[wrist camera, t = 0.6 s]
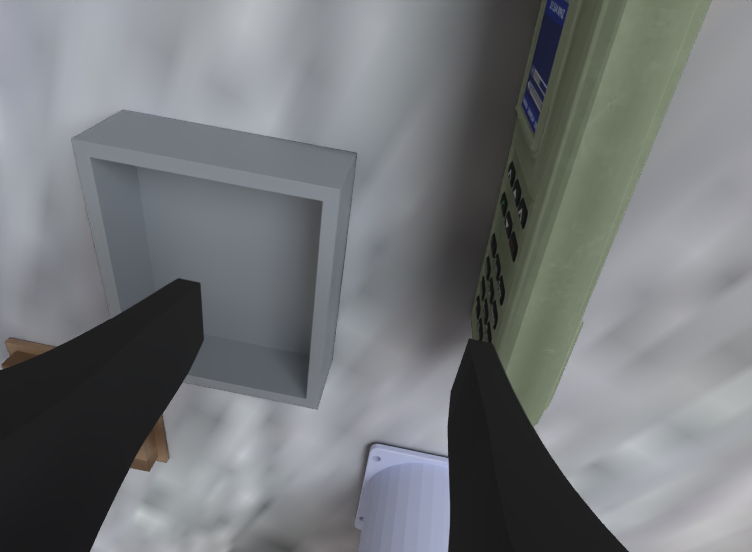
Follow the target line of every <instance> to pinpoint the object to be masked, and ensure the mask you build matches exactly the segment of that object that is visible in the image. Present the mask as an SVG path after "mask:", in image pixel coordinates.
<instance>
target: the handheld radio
mask: <svg viewBox="0 0 752 552" xmlns="http://www.w3.org/2000/svg"><path fill="white" fill-rule="evenodd" d="M711 1H712V0H542V1H541V6H540V10H539V14H538V18H537V22H536V27H535V31H534V35H533V39H532V43H531V48H530V52H529V56H528V60H527V64H526V69H525V73H524V77H523V81H522V85H521V89H520V94H519V98H518V102H517V105H516V107H515V110H516V112H517V115H518V116H517V120H516V124H515V128H514V132H513V136H512V142H511V146H510V151H509V155H508V159H507V163H506V167H505V172H504V176H503V180H502V184H501V189H500V193H499V197H498V201H497V206H496V210H495V214H494V218H493V222H492V227H491V231H490V235H489V239H488V244H487V248H486V252H485V256H484V261H483V265H482V269H481V273H480V278H479V282H478V286H477V290H476V294H475V299H474V303H473V307H472V311H471V325H472V338H473V339H474V340H479V341H484V342H489V343H493V345H494V347H495V348H496V351H497V353H498V356H499V358H500V361H501V363H502V365H503V368H504V370H505V372H506V375H507V377H508V379H509V381H510V383H511V385H512V388H513V390H514V392H515V394H516V396H517V398H518V400H519V402H520V404H521V405H522V407H523V409H524V411H525V413H526V415H527V417H528V419H529V421H530V422H531V424H532V426H535V425H536V424H537V423H538V421H539V420H540V418H541V416H542V414H543V412H544V410H545V409H547V408H548V406H549V404H550V402H551V400H552V398H553V396H554V393H555V391H556V388H557V386H558V384H559V381H560V379H561V376H562V374H563V372H564V369H565V367H566V364H567V362H568V360H569V357H570V355H571V352H572V350H573V348H574V345H575V343H576V340H577V338H578V335H579V333H580V331H581V328H582V326H583V320H582V317H583V314H584V312H585V309H586V307H587V304H588V302H589V299H590V297H591V295H592V292H593V290H594V287H595V285H596V282H597V280H598V277H599V275H600V273H601V270H602V268H603V265H604V263H605V260H606V258H607V255H608V253H609V251H610V248H611V246H612V243H613V241H614V238H615V236H616V233H617V231H618V229H619V226H620V224H621V221H622V219H623V216H624V214H625V211H626V209H627V206H628V204H629V202H630V199H631V197H632V194H633V192H634V189H635V187H636V184H637V182H638V180H639V177H640V175H641V172H642V170H643V167H644V165H645V162H646V160H647V158H648V155H649V153H650V150H651V148H652V145H653V143H654V140H655V138H656V136H657V133H658V131H659V128H660V126H661V123H662V121H663V118H664V116H665V114H666V111H667V109H668V106H669V104H670V101H671V99H672V96H673V94H674V92H675V89H676V87H677V84H678V82H679V79H680V77H681V74H682V72H683V70H684V67H685V65H686V62H687V60H688V57H689V55H690V52H691V50H692V48H693V45H694V43H695V40H696V38H697V35H698V33H699V30H700V28H701V26H702V23H703V21H704V18H705V16H706V13H707V11H708V8H709V6H710V4H711Z"/></svg>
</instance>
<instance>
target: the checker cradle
mask: <svg viewBox="0 0 752 552" xmlns="http://www.w3.org/2000/svg"><path fill="white" fill-rule="evenodd" d="M5 344H6V347H7V349H8V352H9V354H10V357H9V358H8V359H7V360H6V361H5V362H4V363H3V364H2V367H3V369H5V368H8V367H10V366H13V365H16V364H18V363H21V362H24V361H26V360H28V359H31V358H33V357H35V356H38V355H40V354H42V353H44V352H47V351H49V350H51V349H54V348H56V347H53V346H48V345H43V344H38V343H33V342H28V341H24V340H19V339H14V338H9V339H8V340H6V341H5ZM168 459H169V453H168V447H167V441H166V435H165V428H164V422H163V416H162V415H161V417H160V418H159V420H158V421H157V423H156V424H155V426H154V427H153V429H152V431H151V432H150V434H149V435H148V437H147V438H146V440H145V441H144V443H143V445H142V447H141V448H140V450H139V452H138V453H137V455H136V457H135V459H134V461H133V463H132V465H131V467H130V468H134V469H138V470H143V471H148V472H149V471H150V470H151V468H152V466H153V464H154V463H155V461H160V462H165V463H167V461H168Z"/></svg>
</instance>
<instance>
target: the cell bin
mask: <svg viewBox="0 0 752 552" xmlns="http://www.w3.org/2000/svg"><path fill="white" fill-rule="evenodd" d="M71 141H72V145H73V150H74V155H75V159H76V164H77V168H78V173H79V177H80V182H81V187H82V191H83V196H84V200H85V205H86V209H87V214H88V219H89V223H90V228H91V232H92V237H93V241H94V246H95V251H96V255H97V260H98V264H99V269H100V274H101V278H102V283H103V287H104V292H105V296H106V301H107V306H108V310H109V315H110V319H111V318H113V317H115V316H116V315H118V314H120V313H121V312H123V311H125V310H126V309H128V308H130V307H131V306H133V305H135V304H137V303H138V302H140V301H141V300H143V299H145V298H146V297H148V296H150V295H151V294H153V293H154V292H156V291H158V290H159V289H161V288H162V287H164V286H166V285H167V284H169V283H171V282H172V281H174V280H176V279H178V278H181V279H185V280H190V281H195V282H200V283H201V298H202V314H203V331H204V341H203V343H202V345H201V348H200V350H199V352H198V354H197V357H196V359H195V361H194V363H193V365H192V367H191V369H190V371H189V373H188V374H187V376H186V378H185V379H184V381H183V382H185V383H190V384H195V385H200V386H204V387H209V388H214V389H219V390H224V391H229V392H234V393H239V394H244V395H249V396H253V397H258V398H263V399H268V400H273V401H278V402H283V403H288V404H293V405H298V406H302V407H307V408H312V409H317V410H318V406H319V403H320V400H321V396H322V393H323V390H324V386H325V383H326V380H327V376H328V373H329V370H330V366H331V363H332V359H333V351H334V342H335V334H336V326H337V317H338V309H339V301H340V292H341V284H342V276H343V267H344V259H345V251H346V242H347V234H348V226H349V217H350V209H351V201H352V192H353V184H354V176H355V167H356V159H357V153H354V152H349V151H343V150H338V149H332V148H327V147H322V146H316V145H311V144H305V143H300V142H295V141H289V140H284V139H278V138H273V137H268V136H262V135H257V134H251V133H246V132H241V131H235V130H230V129H224V128H219V127H214V126H208V125H203V124H197V123H192V122H186V121H181V120H176V119H170V118H165V117H159V116H154V115H149V114H143V113H138V112H132V111H127V110H122V111H120V112H118V113H116V114H115V115H113V116H111V117H109V118H107V119H106V120H104V121H102V122H100V123H98V124H97V125H95V126H93V127H91V128H89V129H88V130H86V131H84V132H82V133H80V134H79V135H77V136H75V137H73V138H71Z"/></svg>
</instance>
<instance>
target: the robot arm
mask: <svg viewBox="0 0 752 552" xmlns="http://www.w3.org/2000/svg"><path fill="white" fill-rule="evenodd" d="M203 341H204V331H203V314H202V298H201V283H200V282H195V281H190V280H185V279H181V278H178V279H176V280H174V281H172V282H171V283H169V284H167V285H166V286H164V287H162V288H161V289H159V290H158V291H156V292H154V293H153V294H151V295H150V296H148V297H146V298H145V299H143V300H141V301H140V302H138V303H137V304H135V305H133V306H131V307H130V308H128V309H126V310H125V311H123V312H121V313H120V314H118V315H116V316H115V317H113V318H111V319H110V320H108V321H106V322H104V323H102V324H100V325H98V326H97V327H95V328H93V329H91V330H89V331H87V332H85V333H84V334H82V335H80V336H78V337H76V338H74V339H72V340H70V341H68V342H66V343H64V344H62V345H60V346H58V347H56V348H54V349H51V350H49V351H47V352H44V353H42V354H40V355H38V356H35V357H33V358H31V359H28V360H26V361H24V362H21V363H18V364H16V365H13V366H10V367H8V368H5V369H2V370H0V552H90V550H91V548H92V546H93V543H94V541H95V539H96V537H97V534H98V532H99V530H100V528H101V526H102V523H103V521H104V519H105V517H106V515H107V513H108V511H109V509H110V507H111V505H112V503H113V501H114V499H115V496H116V494H117V492H118V490H119V488H120V486H121V484H122V482H123V480H124V478H125V476H126V474H127V473H128V471H129V469H130V467H131V465H132V463H133V461H134V459H135V457H136V455H137V453H138V452H139V450H140V448H141V447H142V445H143V443H144V441H145V440H146V438H147V437H148V435H149V434H150V432H151V431H152V429H153V427H154V426H155V424H156V423H157V421H158V420H159V418H160V417H161V415H162V414H163V412H164V411H165V409H166V407H167V406H168V404H169V403H170V401H171V400H172V398H173V397H174V395H175V393H176V392H177V390H178V389H179V387H180V386H181V384H182V382H183V381H184V379H185V378H186V376H187V374H188V373H189V371H190V369H191V367H192V365H193V363H194V361H195V359H196V357H197V354H198V352H199V350H200V348H201V345H202V343H203ZM354 526H355V527H356V528H357V529H359V530H361V535H360V541H359V547H358V552H629V551H628V550H627V549H626V548H625V547H624V546H623V545H622V544H621V543H620V542H619V541H618V540H617V539H616V537H615V536H614V535H613V534H612V533H611V532H610V531H609V530H608V529H607V528H606V527H605V525H604V524H603V523H602V522H601V521H600V520H599V519H598V517H597V516H596V515H595V514H594V513H593V511H592V510H591V509H590V508H589V506H588V505H587V504H586V503H585V502H584V500H583V499H582V498H581V497H580V495H579V494H578V493H577V492H576V491H575V489H574V488H573V487H572V485H571V484H570V483H569V481H568V480H567V479H566V477H565V476H564V475H563V473H562V472H561V470H560V469H559V467H558V466H557V464H556V463H555V461H554V460H553V459H552V457H551V455H550V454H549V452H548V451H547V449H546V448H545V446H544V444H543V443H542V441H541V440H540V438H539V436H538V434H537V433H536V431H535V429H534V428H533V426H532V424H531V422H530V421H529V419H528V417H527V415H526V413H525V411H524V409H523V407H522V405H521V404H520V402H519V400H518V398H517V396H516V394H515V392H514V390H513V388H512V385H511V383H510V381H509V379H508V377H507V375H506V372H505V370H504V368H503V365H502V363H501V361H500V358H499V356H498V353H497V351H496V348H495V347H494V345H493V343H489V342H484V341H479V340H474V339H470V338H469V340H468V343H467V346H466V349H465V352H464V355H463V358H462V361H461V364H460V367H459V369H458V372H457V375H456V378H455V381H454V384H453V387H452V390H451V395H450V406H449V417H448V458H446V457H441V456H436V455H431V454H426V453H421V452H416V451H412V450H407V449H402V448H397V447H392V446H387V445H382V444H373V445H372V446H371V447H370V451H369V456H368V461H367V466H366V470H365V475H364V480H363V485H362V490H361V494H360V499H359V504H358V509H357V513H356V518H355V523H354Z"/></svg>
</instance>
